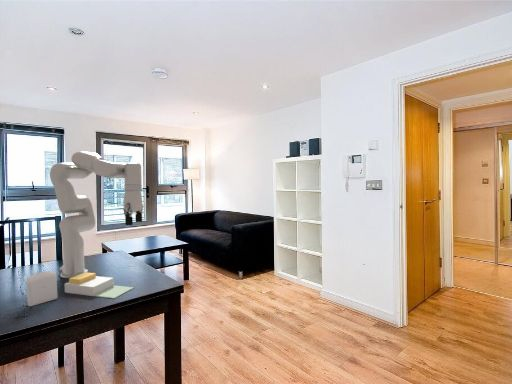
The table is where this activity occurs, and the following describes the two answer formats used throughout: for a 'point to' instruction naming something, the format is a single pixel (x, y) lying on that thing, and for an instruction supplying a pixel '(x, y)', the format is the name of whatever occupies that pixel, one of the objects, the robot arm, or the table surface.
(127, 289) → the mat
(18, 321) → the table surface
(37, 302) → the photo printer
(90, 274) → the tile
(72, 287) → the plate
